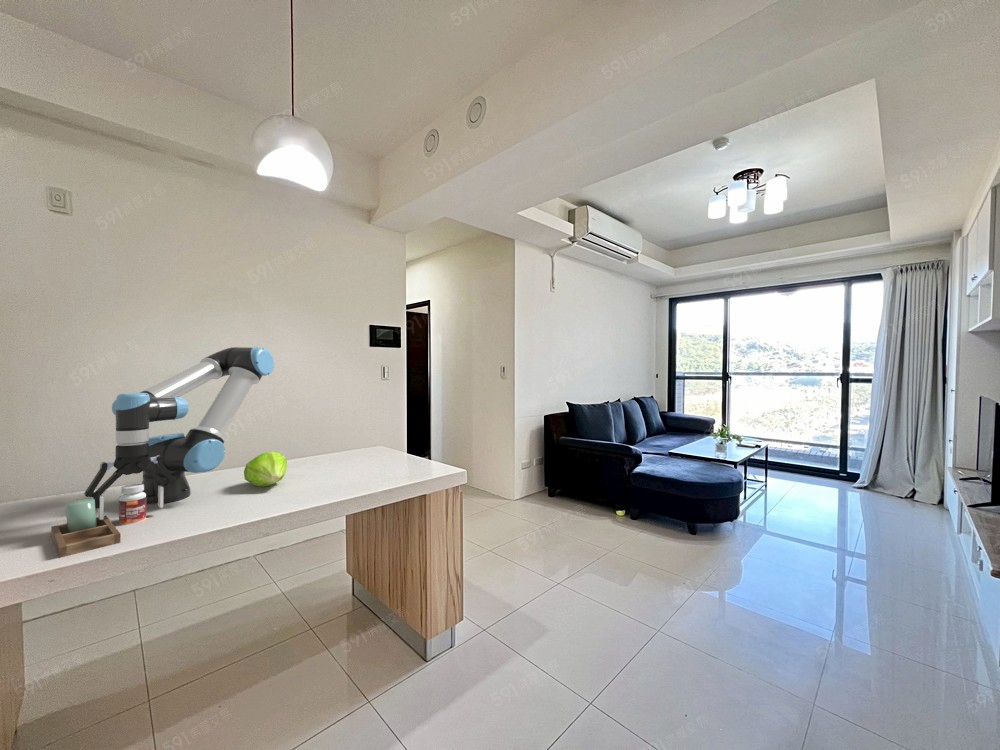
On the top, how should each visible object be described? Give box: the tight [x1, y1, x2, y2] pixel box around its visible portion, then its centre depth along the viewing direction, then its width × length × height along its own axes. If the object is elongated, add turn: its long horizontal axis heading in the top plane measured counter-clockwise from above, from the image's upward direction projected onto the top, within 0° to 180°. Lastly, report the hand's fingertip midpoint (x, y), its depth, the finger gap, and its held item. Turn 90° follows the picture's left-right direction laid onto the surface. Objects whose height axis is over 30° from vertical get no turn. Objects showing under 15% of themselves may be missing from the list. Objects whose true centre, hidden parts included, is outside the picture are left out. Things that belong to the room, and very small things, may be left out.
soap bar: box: [65, 497, 97, 533], centre depth 112 cm, size 6×6×9 cm
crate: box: [50, 515, 121, 559], centre depth 109 cm, size 11×21×3 cm, turn 52°
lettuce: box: [243, 451, 288, 488], centre depth 161 cm, size 15×20×14 cm
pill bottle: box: [118, 482, 147, 525], centre depth 122 cm, size 6×6×11 cm
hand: (132, 512), depth 122 cm, fingers open, 13 cm apart
